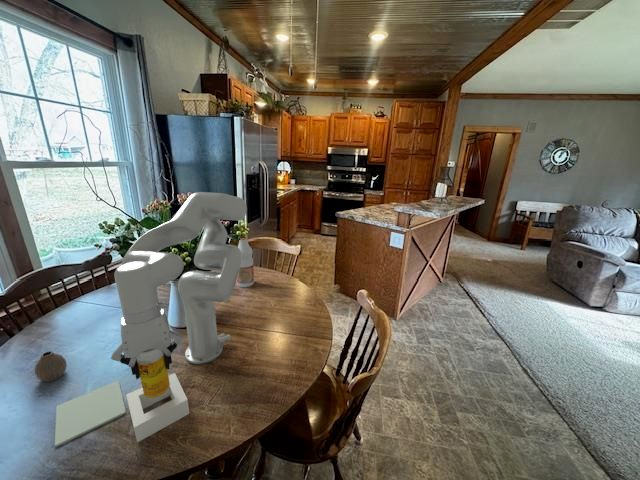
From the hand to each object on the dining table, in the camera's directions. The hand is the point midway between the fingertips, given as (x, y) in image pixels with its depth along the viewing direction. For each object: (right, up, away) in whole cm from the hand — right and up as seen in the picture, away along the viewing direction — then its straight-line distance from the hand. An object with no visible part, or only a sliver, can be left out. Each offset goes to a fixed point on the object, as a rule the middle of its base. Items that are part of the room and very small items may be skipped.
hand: (153, 369), depth 71 cm
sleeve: (-1, -13, +4) cm, 14 cm away
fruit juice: (+2, +9, +79) cm, 80 cm away
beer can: (0, -7, +2) cm, 7 cm away
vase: (-40, -9, +13) cm, 43 cm away
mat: (-19, -13, +3) cm, 23 cm away
